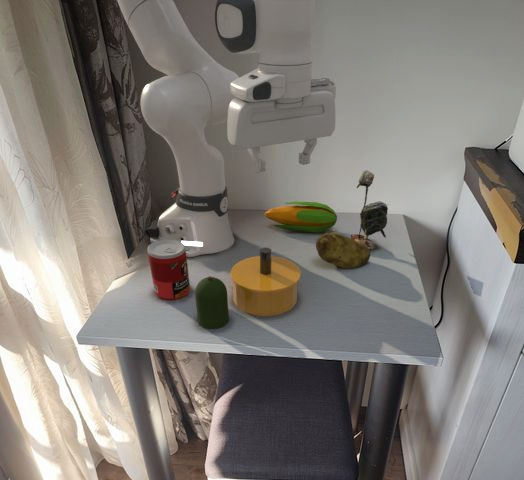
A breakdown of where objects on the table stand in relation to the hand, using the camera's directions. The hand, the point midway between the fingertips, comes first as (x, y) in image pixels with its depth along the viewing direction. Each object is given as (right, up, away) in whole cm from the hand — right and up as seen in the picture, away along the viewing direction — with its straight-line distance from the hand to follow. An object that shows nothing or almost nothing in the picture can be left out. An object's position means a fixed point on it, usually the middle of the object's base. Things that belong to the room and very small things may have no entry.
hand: (282, 167), depth 86 cm
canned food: (-24, -21, +18) cm, 36 cm away
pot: (-3, -23, +15) cm, 28 cm away
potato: (+15, -13, +27) cm, 34 cm away
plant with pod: (+22, -7, +35) cm, 42 cm away
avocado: (-14, -28, +9) cm, 32 cm away
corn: (+7, 0, +44) cm, 44 cm away
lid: (-3, -18, +11) cm, 21 cm away
